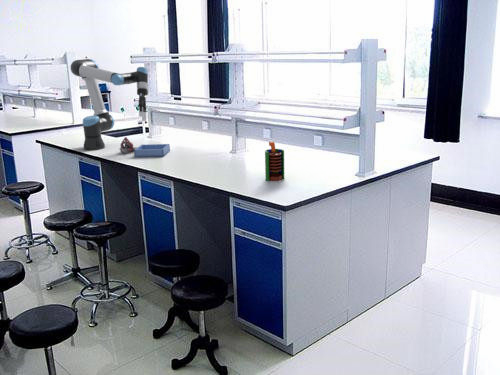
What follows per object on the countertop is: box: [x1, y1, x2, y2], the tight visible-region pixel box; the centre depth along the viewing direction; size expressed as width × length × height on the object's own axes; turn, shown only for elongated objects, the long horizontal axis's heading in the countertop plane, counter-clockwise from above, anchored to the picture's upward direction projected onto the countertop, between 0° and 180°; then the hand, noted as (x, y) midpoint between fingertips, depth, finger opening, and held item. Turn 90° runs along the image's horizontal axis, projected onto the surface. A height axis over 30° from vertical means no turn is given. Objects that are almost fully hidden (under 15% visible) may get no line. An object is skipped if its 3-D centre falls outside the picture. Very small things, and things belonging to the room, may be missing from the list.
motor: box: [264, 141, 285, 182], centre depth 272 cm, size 10×9×20 cm
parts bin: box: [133, 143, 171, 158], centre depth 349 cm, size 20×18×5 cm
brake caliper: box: [119, 136, 138, 155], centre depth 357 cm, size 11×11×12 cm
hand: (142, 118), depth 358 cm, fingers open, 13 cm apart
